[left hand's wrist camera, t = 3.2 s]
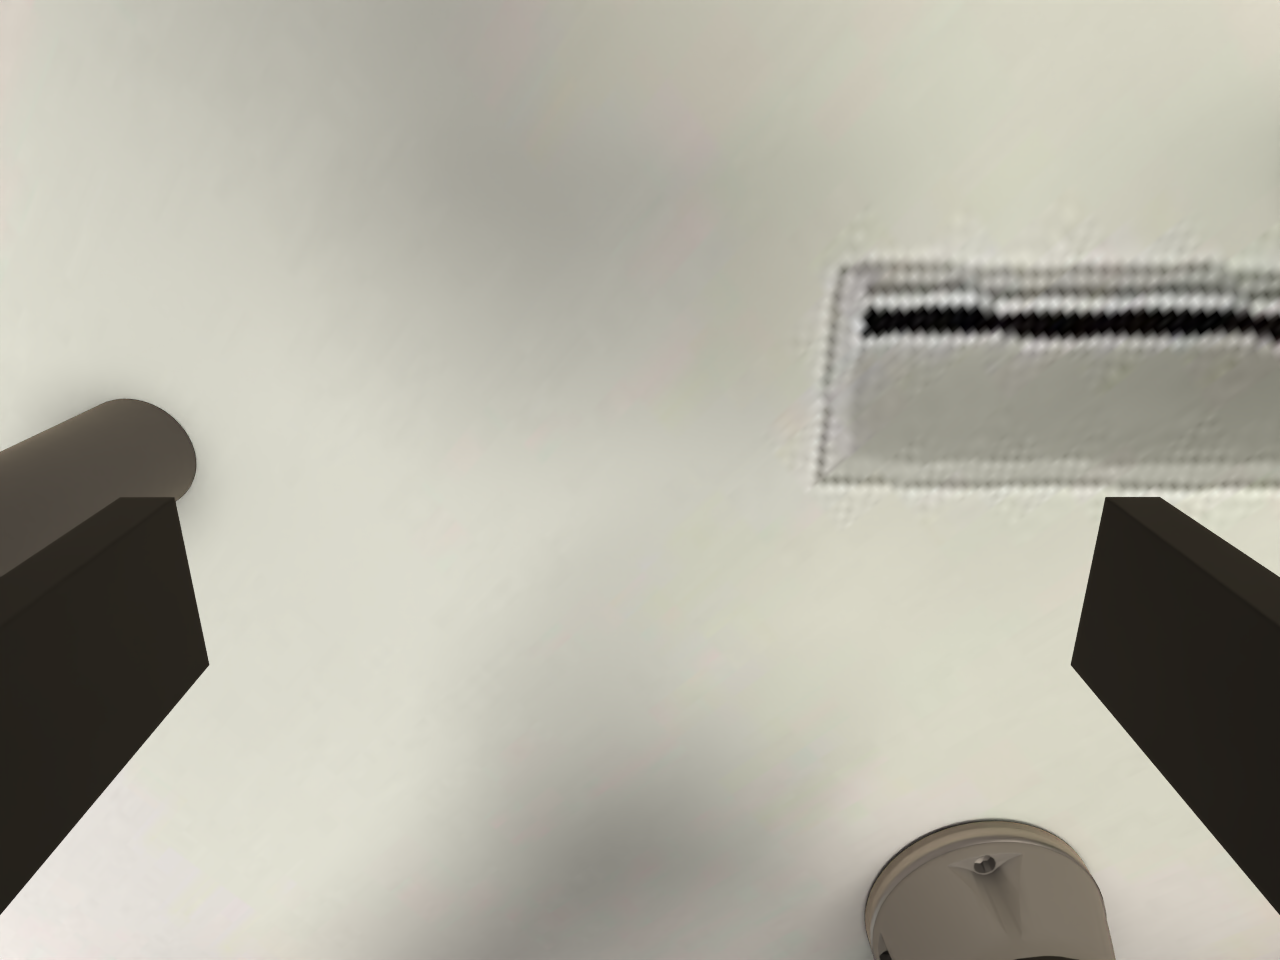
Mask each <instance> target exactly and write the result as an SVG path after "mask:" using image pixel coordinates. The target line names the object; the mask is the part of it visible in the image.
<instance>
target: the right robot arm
mask: <svg viewBox="0 0 1280 960" xmlns="http://www.w3.org/2000/svg"><path fill="white" fill-rule="evenodd" d="M865 924H866V931H867V935H868V939H869V942H870V946H871V949H872V953H873V956H874V959H875V960H1116V959H1115V954H1114V950H1113V945H1112V941H1111V936H1110V932H1109V928H1108V924H1107V919H1106V910H1105V906H1104V901H1103V897H1102V894H1101V892H1100V889H1099V887H1098V886H1097V884H1096V882H1095V880H1094V879H1093V877H1092V875H1091V874H1090V872H1089V871H1088V869H1087V867H1086V866H1085V864H1084V863H1083V861H1082V860H1081V858H1080V857H1079V856H1078V854H1077V853H1076V852H1075V851H1074V850H1073V849H1072V848H1071V847H1070V846H1069V845H1067V844H1066V843H1065V842H1064V841H1062V840H1061V839H1059V838H1058V837H1056V836H1054V835H1052V834H1050V833H1048V832H1046V831H1044V830H1041V829H1039V828H1036V827H1033V826H1029V825H1025V824H1020V823H1014V822H1005V821H985V822H975V823H968V824H963V825H958V826H955V827H951V828H947V829H944V830H942V831H939V832H936V833H934V834H932V835H930V836H927V837H925V838H923V839H921V840H920V841H918V842H916V843H914V844H913V845H911V846H910V847H908V848H907V849H905V850H904V851H903V852H902V853H900V854H899V855H898V856H897V857H896V858H895V859H894V860H892V861H891V862H890V863H889V865H888V866H887V867H886V868H885V869H884V870H883V872H882V873H881V874H880V876H879V877H878V878H877V880H876V882H875V884H874V886H873V887H872V890H871V892H870V894H869V898H868V901H867V905H866V911H865Z"/></svg>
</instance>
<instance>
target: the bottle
mask: <svg viewBox="0 0 1280 960" xmlns="http://www.w3.org/2000/svg"><path fill="white" fill-rule="evenodd" d="M195 469H196V458H195V453H194V449H193V446H192V444H191V441H190V439H189V437H188V436H187V434H186V432H185V431H184V430H183V428H182V427H181V426H180V424H179V423H178V422H177V421H176V420H175V419H174V418H172V417H171V416H170V415H169V414H167V413H166V412H164V411H163V410H161V409H160V408H158V407H156V406H154V405H151V404H149V403H146V402H142V401H138V400H132V399H118V400H112V401H108V402H105V403H103V404H101V405H98V406H96V407H94V408H92V409H90V410H88V411H86V412H84V413H82V414H79V415H77V416H75V417H73V418H71V419H69V420H67V421H65V422H62V423H60V424H58V425H56V426H54V427H52V428H50V429H48V430H46V431H43V432H41V433H39V434H37V435H35V436H33V437H31V438H29V439H26V440H24V441H22V442H20V443H18V444H16V445H14V446H12V447H10V448H7V449H5V450H3V451H1V452H0V577H1V576H3V575H4V574H6V573H7V572H9V571H10V570H12V569H13V568H15V567H16V566H18V565H19V564H21V563H22V562H24V561H25V560H27V559H28V558H30V557H31V556H33V555H34V554H36V553H37V552H39V551H40V550H42V549H43V548H45V547H46V546H48V545H49V544H51V543H52V542H54V541H55V540H57V539H58V538H60V537H61V536H63V535H64V534H66V533H67V532H69V531H70V530H72V529H73V528H75V527H76V526H78V525H79V524H81V523H82V522H84V521H85V520H87V519H88V518H90V517H91V516H93V515H94V514H96V513H97V512H99V511H100V510H102V509H103V508H105V507H106V506H108V505H109V504H111V503H112V502H114V501H115V500H117V499H118V498H120V497H175V502H176V501H177V500H178V499H179V498H181V497H182V496H183V495H184V494H185V493H186V492H187V491H188V489H189V487H190V486H191V484H192V482H193V479H194V475H195Z"/></svg>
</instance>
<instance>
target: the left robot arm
mask: <svg viewBox="0 0 1280 960" xmlns="http://www.w3.org/2000/svg"><path fill="white" fill-rule="evenodd" d="M208 666H209V661H208V656H207V651H206V647H205V642H204V637H203V632H202V627H201V623H200V618H199V613H198V608H197V603H196V598H195V594H194V589H193V584H192V579H191V574H190V570H189V565H188V560H187V555H186V550H185V545H184V541H183V536H182V531H181V526H180V521H179V517H178V512H177V507H176V502H175V497H120V498H118V499H117V500H115V501H114V502H112V503H111V504H109V505H108V506H106V507H105V508H103V509H102V510H100V511H99V512H97V513H96V514H94V515H93V516H91V517H90V518H88V519H87V520H85V521H84V522H82V523H81V524H79V525H78V526H76V527H75V528H73V529H72V530H70V531H69V532H67V533H66V534H64V535H63V536H61V537H60V538H58V539H57V540H55V541H54V542H52V543H51V544H49V545H48V546H46V547H45V548H43V549H42V550H40V551H39V552H37V553H36V554H34V555H33V556H31V557H30V558H28V559H27V560H25V561H24V562H22V563H21V564H19V565H18V566H16V567H15V568H13V569H12V570H10V571H9V572H7V573H6V574H4V575H3V576H1V577H0V915H1V913H2V912H3V911H4V910H5V909H6V907H7V906H8V905H9V904H10V903H11V901H12V900H13V899H14V898H15V897H16V895H17V894H18V893H19V892H20V891H21V889H22V888H23V887H24V886H25V885H26V883H27V882H28V881H29V880H30V879H31V878H32V876H33V875H34V874H35V873H36V872H37V870H38V869H39V868H40V867H41V866H42V864H43V863H44V862H45V861H46V860H47V858H48V857H49V856H50V855H51V854H52V852H53V851H54V850H55V849H56V848H57V846H58V845H59V844H60V843H61V842H62V840H63V839H64V838H65V837H66V836H67V834H68V833H69V832H70V831H71V830H72V828H73V827H74V826H75V825H76V824H77V822H78V821H79V820H80V819H81V818H82V817H83V815H84V814H85V813H86V812H87V811H88V809H89V808H90V807H91V806H92V805H93V803H94V802H95V801H96V800H97V799H98V797H99V796H100V795H101V794H102V793H103V791H104V790H105V789H106V788H107V787H108V785H109V784H110V783H111V782H112V781H113V779H114V778H115V777H116V776H117V775H118V773H119V772H120V771H121V770H122V769H123V767H124V766H125V765H126V764H127V763H128V761H129V760H130V759H131V758H132V757H133V756H134V754H135V753H136V752H137V751H138V750H139V748H140V747H141V746H142V745H143V744H144V742H145V741H146V740H147V739H148V738H149V736H150V735H151V734H152V733H153V732H154V730H155V729H156V728H157V727H158V726H159V724H160V723H161V722H162V721H163V720H164V718H165V717H166V716H167V715H168V714H169V712H170V711H171V710H172V709H173V708H174V706H175V705H176V704H177V703H178V702H179V700H180V699H181V698H182V697H183V696H184V695H185V693H186V692H187V691H188V690H189V689H190V687H191V686H192V685H193V684H194V683H195V681H196V680H197V679H198V678H199V677H200V675H201V674H202V673H203V672H204V671H205V669H206V668H207V667H208ZM1071 666H1072V667H1073V668H1074V669H1075V671H1076V672H1077V673H1078V674H1079V675H1080V677H1081V678H1082V679H1083V680H1084V681H1085V683H1086V684H1087V685H1088V686H1089V687H1090V689H1091V690H1092V691H1093V692H1094V693H1095V695H1096V696H1097V697H1098V698H1099V699H1100V700H1101V702H1102V703H1103V704H1104V705H1105V706H1106V708H1107V709H1108V710H1109V711H1110V712H1111V714H1112V715H1113V716H1114V717H1115V718H1116V720H1117V721H1118V722H1119V723H1120V724H1121V726H1122V727H1123V728H1124V729H1125V730H1126V732H1127V733H1128V734H1129V735H1130V736H1131V738H1132V739H1133V740H1134V741H1135V742H1136V744H1137V745H1138V746H1139V747H1140V748H1141V750H1142V751H1143V752H1144V753H1145V754H1146V756H1147V757H1148V758H1149V759H1150V760H1151V761H1152V763H1153V764H1154V765H1155V766H1156V767H1157V769H1158V770H1159V771H1160V772H1161V773H1162V775H1163V776H1164V777H1165V778H1166V779H1167V781H1168V782H1169V783H1170V784H1171V785H1172V787H1173V788H1174V789H1175V790H1176V791H1177V793H1178V794H1179V795H1180V796H1181V797H1182V799H1183V800H1184V801H1185V802H1186V803H1187V805H1188V806H1189V807H1190V808H1191V809H1192V811H1193V812H1194V813H1195V814H1196V815H1197V817H1198V818H1199V819H1200V820H1201V821H1202V822H1203V824H1204V825H1205V826H1206V827H1207V828H1208V830H1209V831H1210V832H1211V833H1212V834H1213V836H1214V837H1215V838H1216V839H1217V840H1218V842H1219V843H1220V844H1221V845H1222V846H1223V848H1224V849H1225V850H1226V851H1227V852H1228V854H1229V855H1230V856H1231V857H1232V858H1233V860H1234V861H1235V862H1236V863H1237V864H1238V866H1239V867H1240V868H1241V869H1242V870H1243V872H1244V873H1245V874H1246V875H1247V876H1248V878H1249V879H1250V880H1251V881H1252V882H1253V883H1254V885H1255V886H1256V887H1257V888H1258V889H1259V891H1260V892H1261V893H1262V894H1263V895H1264V897H1265V898H1266V899H1267V900H1268V901H1269V903H1270V904H1271V905H1272V906H1273V907H1274V909H1275V910H1276V911H1277V912H1278V913H1279V915H1280V577H1279V576H1277V575H1276V574H1274V573H1273V572H1271V571H1270V570H1268V569H1267V568H1265V567H1264V566H1262V565H1261V564H1259V563H1258V562H1256V561H1255V560H1253V559H1252V558H1250V557H1249V556H1247V555H1246V554H1244V553H1243V552H1241V551H1240V550H1238V549H1237V548H1235V547H1234V546H1232V545H1231V544H1229V543H1228V542H1226V541H1225V540H1223V539H1222V538H1220V537H1219V536H1217V535H1216V534H1214V533H1213V532H1211V531H1210V530H1208V529H1207V528H1205V527H1204V526H1202V525H1201V524H1199V523H1198V522H1196V521H1195V520H1193V519H1192V518H1190V517H1189V516H1187V515H1186V514H1184V513H1183V512H1181V511H1180V510H1178V509H1177V508H1175V507H1174V506H1172V505H1171V504H1169V503H1168V502H1166V501H1165V500H1163V499H1162V498H1160V497H1105V502H1104V507H1103V512H1102V517H1101V521H1100V526H1099V531H1098V536H1097V541H1096V545H1095V550H1094V555H1093V560H1092V565H1091V570H1090V574H1089V579H1088V584H1087V589H1086V594H1085V598H1084V603H1083V608H1082V613H1081V618H1080V623H1079V627H1078V632H1077V637H1076V642H1075V647H1074V651H1073V656H1072V661H1071Z"/></svg>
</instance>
